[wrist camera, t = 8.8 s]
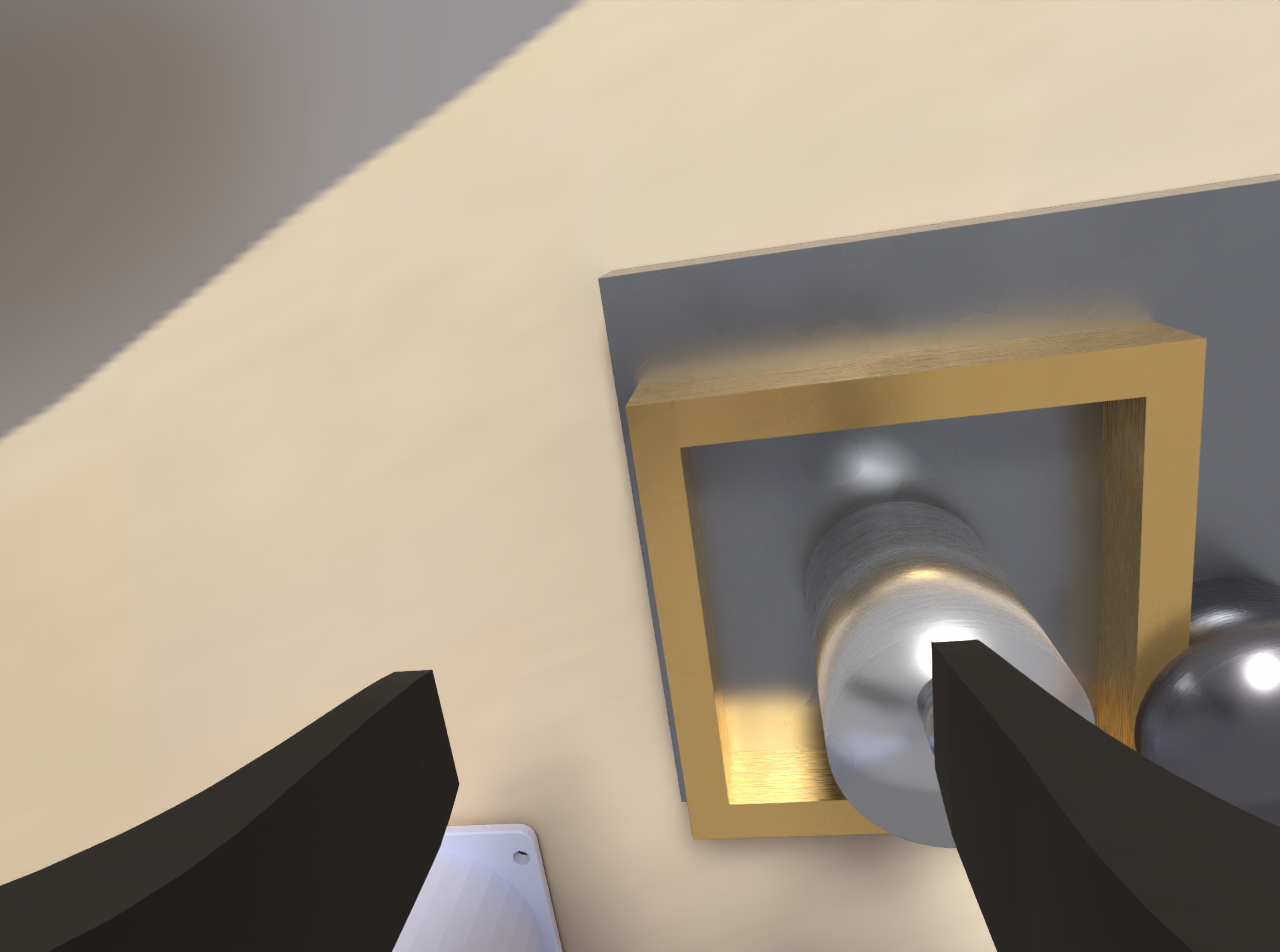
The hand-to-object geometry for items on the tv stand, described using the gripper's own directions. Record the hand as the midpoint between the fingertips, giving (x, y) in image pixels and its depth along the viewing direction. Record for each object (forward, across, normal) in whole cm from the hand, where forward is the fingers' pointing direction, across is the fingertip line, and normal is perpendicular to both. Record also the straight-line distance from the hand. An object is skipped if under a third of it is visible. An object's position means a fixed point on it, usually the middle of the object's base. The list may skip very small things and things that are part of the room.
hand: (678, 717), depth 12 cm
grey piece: (+10, -6, +1) cm, 12 cm away
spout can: (+8, -4, +2) cm, 10 cm away
